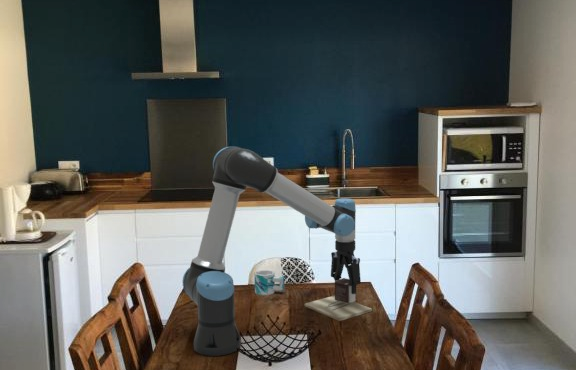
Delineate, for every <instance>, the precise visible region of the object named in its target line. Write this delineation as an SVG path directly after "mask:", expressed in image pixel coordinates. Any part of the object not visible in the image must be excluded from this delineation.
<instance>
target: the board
mask: <svg viewBox="0 0 576 370" xmlns="http://www.w3.org/2000/svg"><path fill="white" fill-rule="evenodd" d="M304 307H306V308H308V309H310V310H312V311H315V312H317V313H320V314H321V315H323V316H326V317H329V318H331V319H333V320H335V321H338V322H341V321H345V320H347V319H351V318H355V317H358V316H361V315H364V314H367V313H371V312H372V311H373V309H372V308H371V307H369V306H365V305H364V304H361V303H358V302H356V301H354V302H349V303H345V302H341V301H337V300H335V294H334V295H331V296H328V297H323V298H320V299H316V300H313V301H310V302H306V303H304Z"/></svg>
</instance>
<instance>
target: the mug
mask: <svg viewBox="0 0 576 370" xmlns="http://www.w3.org/2000/svg"><path fill="white" fill-rule="evenodd" d="M277 283H279V284H277ZM284 290H285V276H275V271H273V270H270V269H261V270H256V271H255V272H254V293H255V295H258V296H269V295H273V294H275V292H276V291H281V292H283V291H284Z"/></svg>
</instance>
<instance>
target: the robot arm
mask: <svg viewBox="0 0 576 370" xmlns="http://www.w3.org/2000/svg"><path fill="white" fill-rule="evenodd" d="M212 170H213V172H214V174H213V177H212V181H211V182H212V184H213V186H214V192H213V196H212V199H211V202H210V207H209V211H208V214H207V218H206V219H207V220H206V223H205V227H204V230H203V234H202V238H201V242H200V245H199V250H198V253H197V256H196V257H194V258H192V259H191V262H190V266H189V267H188V268H187V269H186V271H185V272H184V273H183V277H182V286H183V290H184V292H185V294H186V296H187V297H188V298H189V299H190V300H192V301H193V303H195V304H196V306H197V319H198V320H197V323H198V325H197V328H196V332H195V336H194V339H193V351H195V353H198V354H199V355H202V356H208V357H209V356H210V357H219V356H220V357H221V356H226V355H230V354H232V353H234V352H236V351H238V350H237V349H236V348H239V349H241V347H240V346H242V344H241V343H242V339H241V335H240V333H239V330H238V328H237V327H238V326H237V325H236V321H235V318H236V314H235V285H234V280H233V276H231V275H230V274H228V273H227V272H225V271H226V266H225V265H224V263H223V260H224V256H225V254H226V253H225V252H226V248H227V245H228V240H229V238H230V234H231V231H232V229H231V228H232V226H233V223H234V218H235V215H236V210H237V206H238V203H239V198H240V195H241V194H242V193H244V192H245V191H246V190H247V187H248V188H251V189H253V190H256V191H257V192H258V193H260V194H264V193H266V194H268V195H270V196H271V197H273V198H274V199H276V200H278V201H280V202H281V203H283V204H285V205H286V206H288V207H290V208H291V209H293V210H295V211H297V213H300V214H302V215H303V216H304V221H305V224H306V226H307V227H308V228H309V229H316V230H317V229H319V228H320V229H322V230H325V231H328V232H331V233H333V234H334V238H335V241H334V243H335V245H334V246H335V247H334V248H335V251H334V252H333V251H332V252H331V254H330V257H331V265H330V266H331V267H330V268H331V269H330V277H331V278H333V280H334V283H335V282H336V281H338V280H340V279H342V273H343V270H344V267H345V268H346V271H347V276H348V279H349V280H350V285H349V302H356V299H357V286H358V285H360V284H361V270H360V263H361V259H360V257H356V256H355V253H354V252H355V250H356V212H357V209H356V202H355V200H354V199H352V198H345V197H344V198H337V199H335V201H334V205H330V204H329V203H327V202H326V201H324V200H323V199H321V198H319V197H318V196H316V195H315V194H313V193H311V192H310V191H308V190H307V189H305V188H303V187H302V186H300V185H299V184H297V183H296V182H294V181H292V180H290V179H289V178H287V177H286V176H285V175H283V174H281V173H279V171H278V168H277V167H276V166H274V165H273V164H271V163H270V162H268V161H267V160H266V159H264V158H263V157H261V156H260V155H259V154H258V153H256V152H255V151H252V150H250V149H247V148H242V147H239V146H226V147H223V148H222V149H220V150H219V151H218V152H216V154H215V155H214V157H213V161H212ZM353 281H354V282H353Z"/></svg>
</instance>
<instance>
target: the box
mask: <svg viewBox="0 0 576 370" xmlns="http://www.w3.org/2000/svg"><path fill="white" fill-rule="evenodd" d="M353 282H354V281H353ZM349 285H350V280H349V278H346V277H341V279H340V280H338V281H336V282H335V281H334V295H335V300H337V301H341V302H345V303H349Z"/></svg>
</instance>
